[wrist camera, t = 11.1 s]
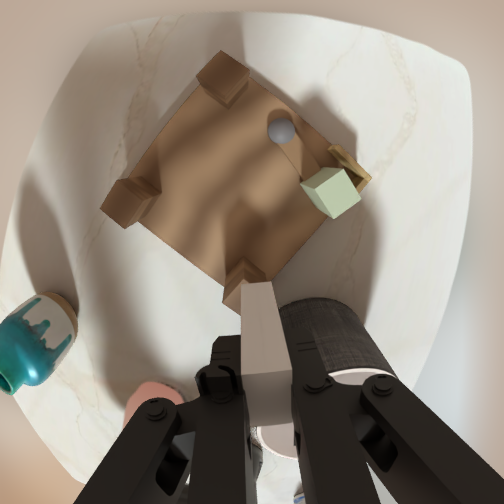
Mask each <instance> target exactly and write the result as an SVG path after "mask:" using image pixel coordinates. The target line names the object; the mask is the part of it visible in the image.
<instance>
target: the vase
mask: <svg viewBox="0 0 504 504" xmlns="http://www.w3.org/2000/svg"><path fill="white" fill-rule="evenodd" d="M77 333H78V321H77V317H76V314H75V312H74V310H73V308H72V307H71V305H70V304H69V303H68V302H67V301H66V300H65V299H64V298H63V297H61V296H60V295H58V294H55V293H52V292H42V293H39V294H37V295H35V296H33V297H31V298H30V299H28V300H27V301H25V302H24V303H22V304H21V305H20V306H18V307H17V308H16V309H15V310H14V311H13V312H11V313H10V314H9V315H8V316H7V317H6V318H5V319H4V320H3V321H2V323H1V324H0V389H1V390H2V391H3V392H5V393H6V394H9V395H13V394H14V393H15V392H16V391H17V390H18V389H19V388H20V387H21V386H22V385H23V384H26V385H29V386H37V385H40V384H41V383H43V382H44V381H45V380H46V379H47V378H48V377H49V376H50V375H51V374H52V373H53V372H54V371H55V369H56V368H57V367H58V365H59V364H60V363H61V362H62V360H63V359H64V358H65V356H66V355H67V353H68V352H69V350H70V349H71V347H72V345H73V343H74V342H75V339H76V337H77Z"/></svg>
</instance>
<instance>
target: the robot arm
mask: <svg viewBox="0 0 504 504" xmlns="http://www.w3.org/2000/svg"><path fill="white" fill-rule="evenodd" d="M195 380H196V383H197V386H198V390H199V393H200V397H198V398H197V399H195V400H193V401H190V402H187V403H183V404H178V405H175V404H174V403H173V402H172V401H171V400H169V399H166V398H152V399H149V400H147V401H145V402H143V403H142V404H141V405H140V406H139V407H138V409H137V410H136V412H135V413H134V415H133V416H132V417H131V419H130V420H129V422H128V423H127V425H126V426H125V428H124V429H123V431H122V432H121V434H120V435H119V437H118V438H117V439H116V441H115V442H114V444H113V445H112V447H111V448H110V450H109V451H108V453H107V454H106V456H105V457H104V459H103V460H102V462H101V463H100V464H99V466H98V467H97V469H96V470H95V472H94V473H93V475H92V476H91V478H90V479H89V481H88V482H87V484H86V485H85V487H84V488H83V490H82V491H81V493H80V494H79V496H78V497H77V499H76V500H75V502H74V503H73V504H257V490H256V481H257V478H258V476H259V473H260V470H261V467H262V464H263V454H262V451H261V450H260V449H259V448H258V447H257V446H255V445H253V444H252V440H251V434H250V427H261V426H272V425H281V424H289V423H292V419H293V424H294V446H296V450H297V456H298V462H299V468H300V473H301V479H302V485H303V491H304V497H305V503H306V504H381V503H380V500H379V497H378V494H377V491H376V489H375V485H374V483H373V480H372V477H371V474H370V471H369V468H368V465H367V463H368V464H369V466H370V467H371V468H372V470H373V471H374V472H375V474H376V475H377V477H378V478H379V479H380V481H381V482H382V483H383V484H384V486H385V487H386V489H387V490H388V491H389V492H390V494H391V495H392V496H393V498H394V499H395V500H396V502H397V503H398V504H504V479H503V478H502V477H501V476H500V475H499V474H498V473H497V472H496V471H495V470H494V469H493V468H492V467H490V465H489V464H487V463H486V462H485V461H484V460H483V459H482V458H481V457H480V456H479V455H478V454H477V453H476V452H475V451H474V450H473V449H472V448H471V447H469V445H468V444H467V443H465V442H464V441H463V440H462V439H461V438H460V437H459V436H458V435H457V434H456V433H455V432H454V431H453V430H452V429H451V428H450V427H449V426H448V425H446V424H445V423H444V422H443V421H442V420H441V419H440V418H439V417H438V416H437V415H436V414H435V413H434V412H433V411H432V410H431V409H430V408H428V407H427V406H426V405H425V404H424V403H423V402H422V401H421V400H420V399H419V398H418V397H417V396H416V395H415V394H414V393H412V392H411V391H410V390H409V389H408V388H407V387H406V386H405V385H404V384H403V383H402V382H401V381H400V380H399V379H397V378H396V377H394V376H392V375H388V374H375V375H372V376H370V377H368V378H367V379H365V381H364V383H363V384H362V385H348V384H342V383H339V382H336V381H335V380H334V378H333V377H332V376H330V375H328V373H327V371H326V369H325V366H324V363H323V361H322V358H321V355H320V353H319V350H318V348H317V345H316V343H315V340H314V337H313V335H312V333H311V332H310V331H309V330H307V329H306V328H305V327H300V328H292V329H284V330H283V328H282V324H281V320H280V316H279V311H278V307H277V303H276V299H275V295H274V291H273V287H272V282H261V283H251V284H241V335H231V336H219V337H218V338H217V339H216V340H215V342H214V343H213V345H212V354H211V361H210V364H209V365H207V366H205V367H203V368H202V369H200V370H199V371H198V372H197V374H196V376H195ZM366 462H367V463H366ZM189 474H190V481H189V484H188V483H186V481H187V478H188V476H189Z"/></svg>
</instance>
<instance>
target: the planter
mask: <svg viewBox="0 0 504 504" xmlns="http://www.w3.org/2000/svg"><path fill="white" fill-rule="evenodd" d="M278 311H279V316H280V320H281V324H282V328H283V330H284V329H292V328H300V327H305V328H306V329H307V330H309V331H310V332H311V333H312V335H313V337H314V340H315V343H316V345H317V348H318V350H319V353H320V355H321V358H322V361H323V363H324V366H325V369H326V371H327V373H328V375H330V376H332V377H333V378H334V380H335V381H336V382H339V383H342V384H348V385H362V384H363V383H364V381H365V379H367V378H368V377H370V376H372V375H375V374H388V375H392V376H394V377H396V378H397V379H398V377H397V376H396V374H395V373H394V371H393V369H392V368H391V366H390V365H389V363H388V362H387V360H386V359H385V357H384V356H383V354H382V353H381V351H380V350H379V348H378V347H377V345H376V344H375V342H374V341H373V339H372V338H371V337H370V335H369V334H368V332H367V331H366V329H365V328H364V326H363V325H362V324H361V322H360V320H359V318H358V317H357V315H356V314H355V313H354V312H353V311H352V310H351V309H350V308H349V307H348V306H346V305H344V304H343V303H341V302H338V301H335V300H332V299H326V298H310V299H304V300H299V301H296V302H293V303H291V304H288V305H286V306H284V307H282V308H280V309H279V310H278ZM256 434H257V438H258V440H259V442H260V443H261V445H262V446H263V447H264V448H265V449H267V450H268V451H270V452H271V453H273V454H275V455H278V456H281V457H284V458H289V459H296V460H298V456H297V450H296V446H294V424H293V419H292V423H289V424H281V425H272V426H261V427H256Z"/></svg>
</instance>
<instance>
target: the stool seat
mask: <svg viewBox="0 0 504 504" xmlns="http://www.w3.org/2000/svg"><path fill="white" fill-rule="evenodd" d="M249 71H250V70H249V69H248V68H246V67H245V66H244V65H242V64H241V63H239V62H238V61H236V60H235V59H233V58H232V57H230V56H229V55H227V54H226V53H224V52H223V51H221V50H220V51H219V52H218V53H217V54H216V55H215V56H214V57H213V59H212V60H211V61H210V62H209V63H208V64H207V65H206V66H205V67H204V68H203V69H202V70H201V71H200V72H199V73H198V74H197V75H196V77H197V79H198V80H199V82H200V85H199V86H198V87H197V88H196V90H195V91H194V92H193V93H192V94H191V95H190V96H189V98H188V99H187V100H186V101H185V102H184V103H183V105H182V106H181V107H180V108H179V109H178V111H177V112H176V113H175V114H174V116H173V117H172V118H171V119H170V121H169V122H168V123H167V124H166V126H165V127H164V128H163V130H162V131H161V132H160V133H159V135H158V136H157V137H156V139H155V140H154V141H153V143H152V144H151V146H150V147H149V148H148V150H147V151H146V153H145V154H144V155H143V157H142V158H141V160H140V161H139V163H138V164H137V165H136V167H135V168H134V170H133V171H132V173H131V174H130V176H129V177H128V178H127V179H121V180H117V181H116V182H115V184H114V186H113V187H112V189H111V190H110V192H109V194H108V195H107V197H106V199H105V201H104V202H103V204H102V206H101V207H100V209H101V210H102V211H103V212H104V213H105V214H107V215H108V216H109V217H110V218H111V219H113V220H114V221H115V222H116V223H118V224H119V225H120V226H121V227H122V228H124V229H126V228H127V227H129V226H130V225H132V224H134V223H135V222H137V221H138V222H139V223H141V224H142V225H143V226H144V227H146V228H147V229H148V230H150V231H151V232H152V233H153V234H155V235H156V236H157V237H158V238H160V239H161V240H162V241H164V242H165V243H166V244H167V245H169V246H170V247H171V248H173V249H174V250H175V251H177V252H178V253H179V254H181V255H182V256H183V257H184V258H186V259H187V260H188V261H190V262H191V263H192V264H194V265H195V266H196V267H198V268H199V269H200V270H202V271H203V272H204V273H206V274H207V275H208V276H210V277H211V278H213V279H214V280H215V281H217V282H218V283H219V284H221V285H222V286H223V287H224V293H223V301H222V303H223V304H224V305H226V306H227V307H229V308H230V309H232V310H233V311H234V312H236V313H237V314H239V315H240V316H241V284H251V283H261V282H270V281H271V280H272V279H273V278H274V277H275V275H276V274H277V273H278V272H279V271H280V270H281V269H282V268H283V267H284V266H285V264H286V263H287V262H288V261H289V260H290V259H291V258H292V257H293V256H294V254H295V253H296V252H297V251H298V250H299V249H300V248H301V247H302V246H303V244H304V243H305V242H306V241H307V240H308V239H309V238H310V236H311V235H312V234H313V233H314V232H315V231H316V230H317V229H318V227H319V226H320V225H321V224H322V223H323V222H324V221H325V219H326V218H327V217H328V215H327V214H325V213H324V212H322V211H320V210H319V209H317V208H316V207H315V205H314V204H313V202H312V201H311V199H310V198H309V196H308V195H307V193H306V192H305V191H304V189H303V188H302V186H301V185H300V183H301V182H303V180H302V178H301V177H300V175H299V174H298V172H297V171H296V169H295V168H294V167H293V165H292V164H291V162H290V161H289V160H288V158H287V157H286V155H285V154H284V153H283V151H282V150H281V149H280V147H279V146H278V145H277V143H274V142H273V141H272V140H271V139H270V138H269V136H268V132H267V130H268V126H269V125H270V123H271V122H272V121H273V120H275V119H277V118H285V119H288V120H289V121H291V122H292V124H293V125H294V128H295V133H296V134H297V135H298V137H299V138H300V140H301V141H302V142H303V144H304V145H305V147H306V148H307V149H308V151H309V152H310V154H311V155H312V157H313V158H314V160H315V161H316V162H317V164H318V165H319V167H320V168H323V167H328V168H340V169H344V170H345V172H346V174H347V175H348V177H349V179H350V180H351V182H352V183H353V185H354V187H355V188H356V190H357V192H358V194H359V193H360V192H361V191H362V189H363V188H364V187H365V186H366V185H367V183H368V182H369V181H370V180H371V179H372V177H371V176H370V175H369V174H368V173H367V172H366V171H365V170H364V169H363V168H362V167H361V166H360V165H359V164H358V163H357V162H356V161H355V160H354V159H353V158H352V157H351V156H350V155H349V154H348V153H347V152H346V151H345V150H344V149H343V148H342V147H341V146H340V145H339V144H338V145H331V144H330V143H329V142H328V141H327V140H326V139H325V138H324V137H323V136H321V135H320V134H319V133H318V132H317V131H316V130H315V129H314V128H313V127H311V126H310V125H309V124H308V123H307V122H306V121H305V120H303V119H302V118H301V117H300V116H299V115H297V114H296V113H295V112H294V111H293V110H292V109H290V108H289V107H288V106H287V105H285V104H284V103H283V102H282V101H280V100H279V99H278V98H277V97H275V96H274V95H273V94H272V93H270V92H269V91H268V90H266V89H265V88H264V87H262V86H261V85H260V84H258V83H257V82H256V81H254V80H253V79H252V78H250V77H249Z"/></svg>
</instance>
